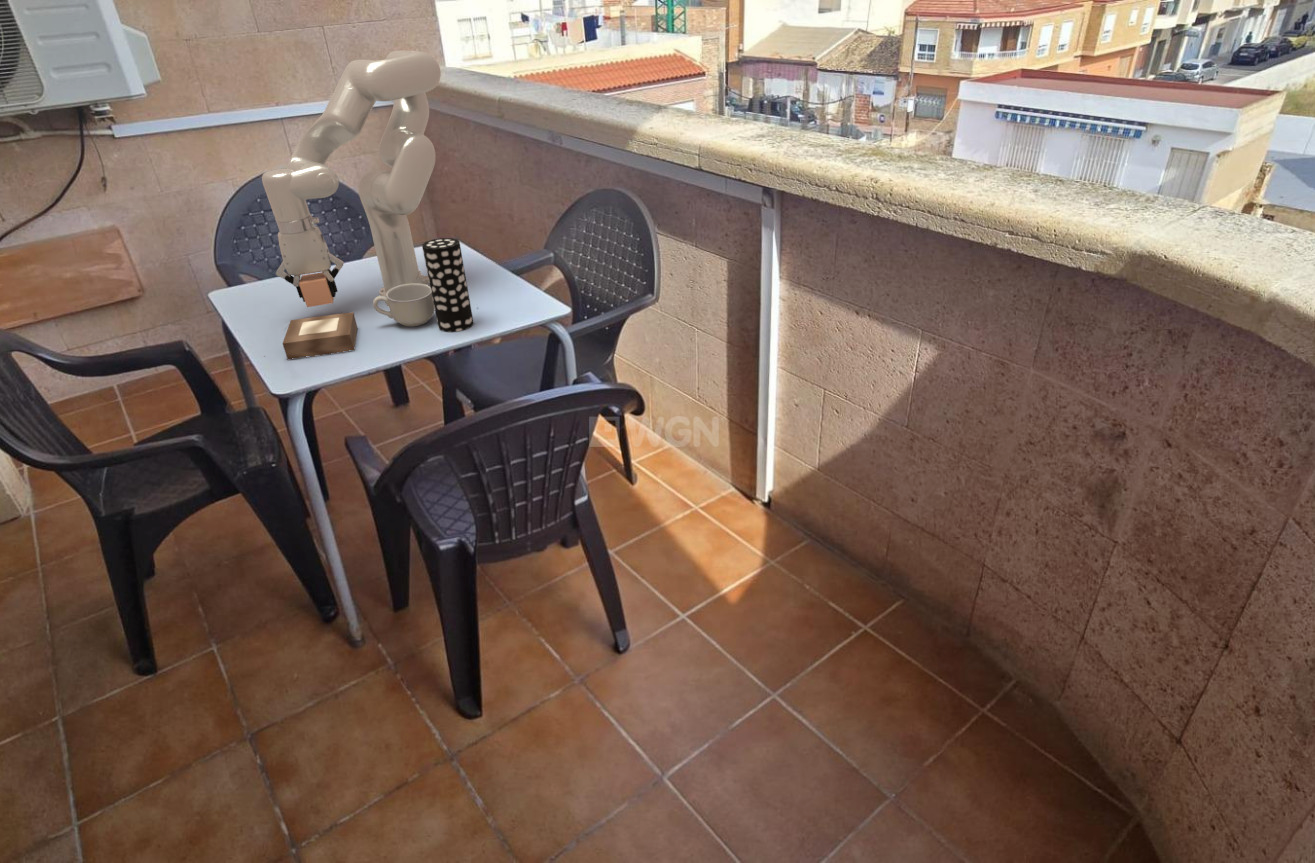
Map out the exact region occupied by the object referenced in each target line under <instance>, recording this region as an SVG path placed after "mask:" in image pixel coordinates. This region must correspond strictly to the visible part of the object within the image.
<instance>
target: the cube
mask: <svg viewBox="0 0 1315 863" xmlns="http://www.w3.org/2000/svg"><path fill="white" fill-rule="evenodd" d="M299 286H300V288H301V291H302V294H303V297H304V300H305V305H306V307H307V308H312V307H317V306H324V305H329V304H334V299H335V297H332V295H331V292H330V289H329V286H328V279H327V277H326V276H325V275H324V274H323V272H316V273H310V274H303V275H300V282H299Z"/></svg>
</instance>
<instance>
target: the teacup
mask: <svg viewBox="0 0 1315 863" xmlns="http://www.w3.org/2000/svg"><path fill="white" fill-rule="evenodd" d="M380 301H382V302H384V303H385V304H386V306H387V307H388V309H389V311H388V310H385V309H382V308H380V307H379V306H378V302H380ZM372 307H373V309H374V310H375V311H376V312H377V313H379V314H381V315H384V316H387V317H388V318H389V319H393V320H394V321H395V322H397V323H399V324H400V325H402V326H405V327H419V326H421V325H424V324H426V323H427V322H429V321H430V320H431V318H433V316H434V315H435V308H434V303H433V298H432V293H431V288H430V285H429V284H427V285H425V284H419V283H411V284H404V285H399V286H396V287H393V288H391V289H390V290H388V292H387V293H386V297H384V296H380V295H378V296H376V297H374V298H373V301H372Z"/></svg>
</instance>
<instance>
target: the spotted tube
mask: <svg viewBox="0 0 1315 863" xmlns="http://www.w3.org/2000/svg"><path fill="white" fill-rule="evenodd" d="M421 246H422V251H423V252H422V253H423V257H424V262H425V266H426V273H427V276H428V278H429V283H430V284H429V286H430V288H431V293H432V298H433V303H434V308H435V311H434V314H435V316H436V321H437V327H438V329H439V330H440V331H442V332H448V333H455V332H461V331H465V330H468V329H469V328H471V327H472V326H474V317H473V312H472V306H471V305H472V304H471V301H470V294H469V289H468V284H467V278H466V272H465V266H464V260H463V255H462V248H461V247H462V246H461V243H460V240H459V239H457V238H453V237H452V238H451V237H441V238H434V239H430V240H427V241H425V242H423V243H422V244H421Z"/></svg>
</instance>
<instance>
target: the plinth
mask: <svg viewBox="0 0 1315 863" xmlns="http://www.w3.org/2000/svg"><path fill="white" fill-rule="evenodd" d="M357 327H358V324H357V320H356V316H355V313H354V311H353V312H345V313H336V314H328V315H321V316H313V317H306V318H298V319H297V318H296V319H290V321H289V324H288V326H287V329H286V333H285V335H284V339H283V340H282V346H283V349H284V352H285V355H286V356H285V357H286V358H287V360H288V359H291V360H293V359H292V358H299V357H306V356H313V357H316V356H315V355H320V356H324V355H323V354H327V355H332V354H331V353H334V354H338V353H337V352H341V353H344V352H343V351H348V352H350V351H349V350H354V351H355V349H354V347H355V348H356V342H355V341H357V335H356V334H358V328H357ZM306 358H307V357H306ZM299 359H300V358H299Z"/></svg>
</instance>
